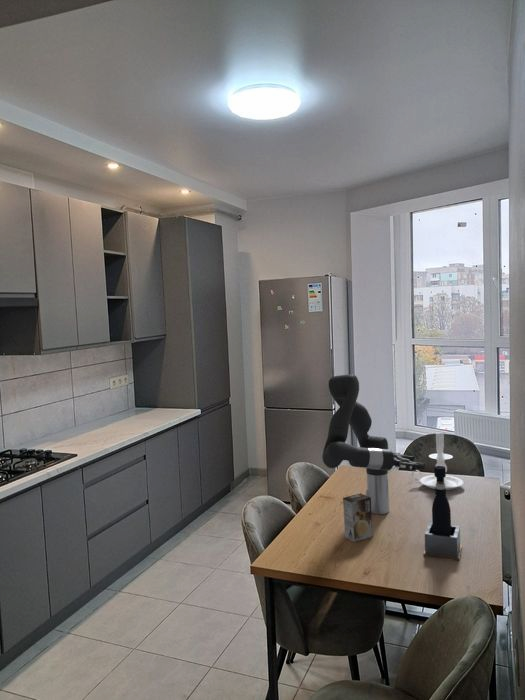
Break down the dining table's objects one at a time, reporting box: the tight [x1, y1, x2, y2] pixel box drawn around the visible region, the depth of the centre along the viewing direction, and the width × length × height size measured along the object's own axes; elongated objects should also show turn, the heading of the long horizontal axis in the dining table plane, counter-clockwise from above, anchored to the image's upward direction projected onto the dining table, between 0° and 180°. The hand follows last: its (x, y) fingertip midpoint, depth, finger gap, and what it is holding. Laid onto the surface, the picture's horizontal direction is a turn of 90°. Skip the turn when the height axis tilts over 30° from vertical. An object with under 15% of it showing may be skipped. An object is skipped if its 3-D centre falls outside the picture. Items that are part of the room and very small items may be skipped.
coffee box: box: [342, 493, 374, 543], centre depth 210 cm, size 9×6×16 cm
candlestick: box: [411, 432, 465, 491], centre depth 264 cm, size 21×25×28 cm
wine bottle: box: [431, 466, 452, 536], centre depth 193 cm, size 6×6×30 cm
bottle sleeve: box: [422, 522, 463, 562], centre depth 194 cm, size 12×12×8 cm
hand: (418, 462), depth 196 cm, fingers open, 8 cm apart
